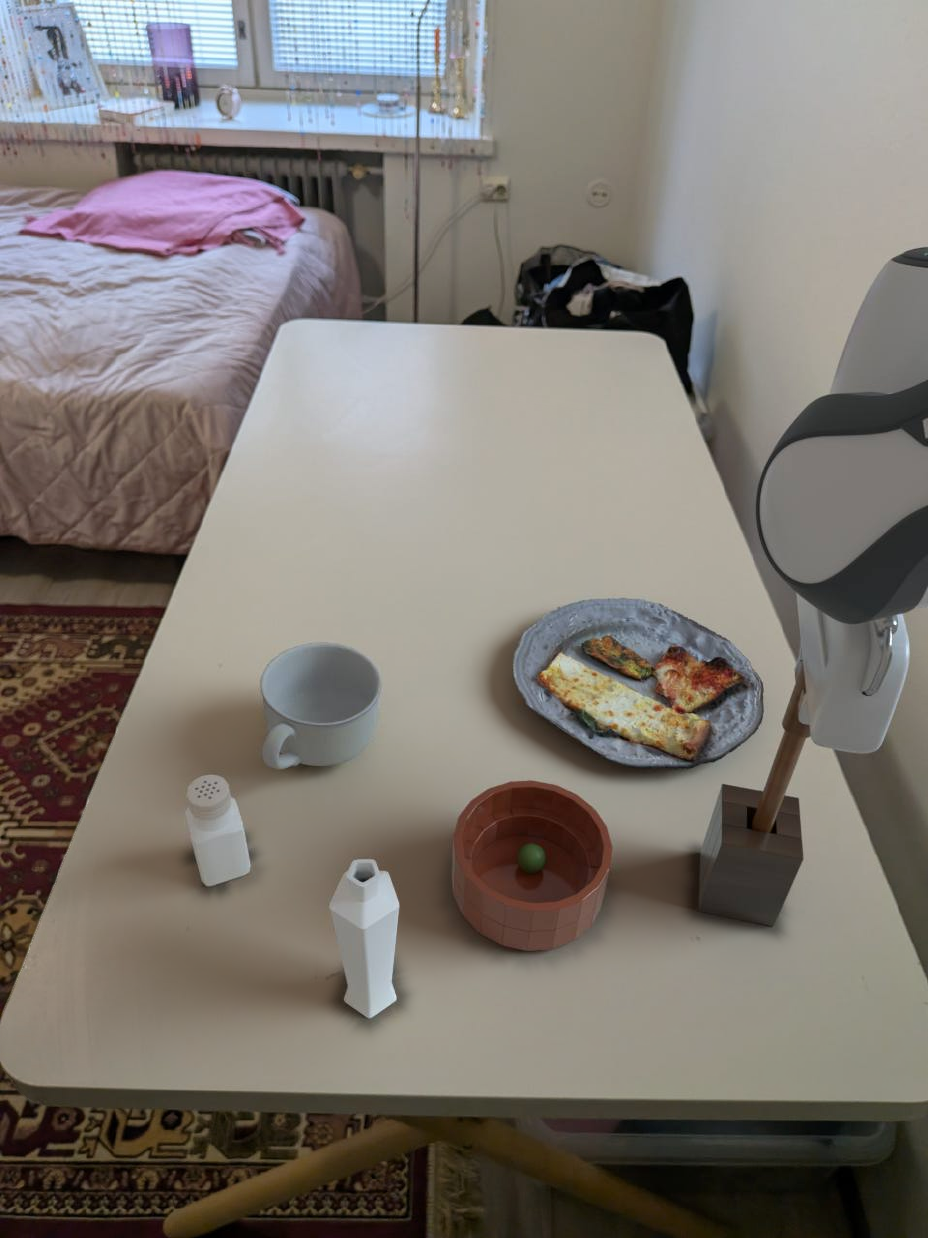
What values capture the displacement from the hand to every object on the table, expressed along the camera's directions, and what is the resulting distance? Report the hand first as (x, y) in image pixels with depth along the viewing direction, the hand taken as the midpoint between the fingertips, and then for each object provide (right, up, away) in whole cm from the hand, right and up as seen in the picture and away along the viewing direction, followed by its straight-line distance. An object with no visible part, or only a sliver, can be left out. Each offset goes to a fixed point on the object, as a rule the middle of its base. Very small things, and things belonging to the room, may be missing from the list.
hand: (808, 699), depth 63 cm
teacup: (-38, -7, +24) cm, 45 cm away
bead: (-18, -14, +14) cm, 27 cm away
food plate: (-6, -2, +32) cm, 33 cm away
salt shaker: (-43, -15, +14) cm, 48 cm away
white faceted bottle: (-31, -22, +6) cm, 38 cm away
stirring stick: (0, -11, +9) cm, 14 cm away
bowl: (-18, -17, +14) cm, 28 cm away
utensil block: (-1, -17, +14) cm, 22 cm away
